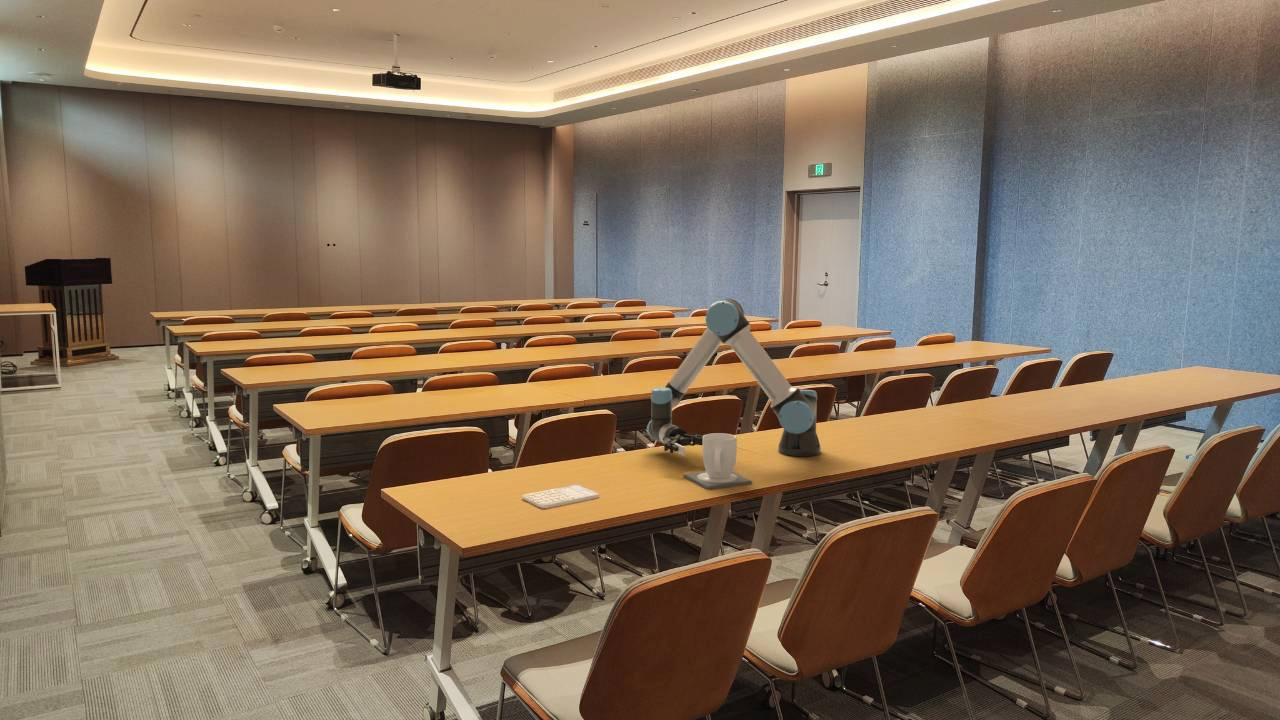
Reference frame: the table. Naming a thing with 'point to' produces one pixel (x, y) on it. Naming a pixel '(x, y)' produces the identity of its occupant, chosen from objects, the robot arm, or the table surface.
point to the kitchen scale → (716, 480)
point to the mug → (719, 454)
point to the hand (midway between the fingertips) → (702, 449)
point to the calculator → (560, 496)
